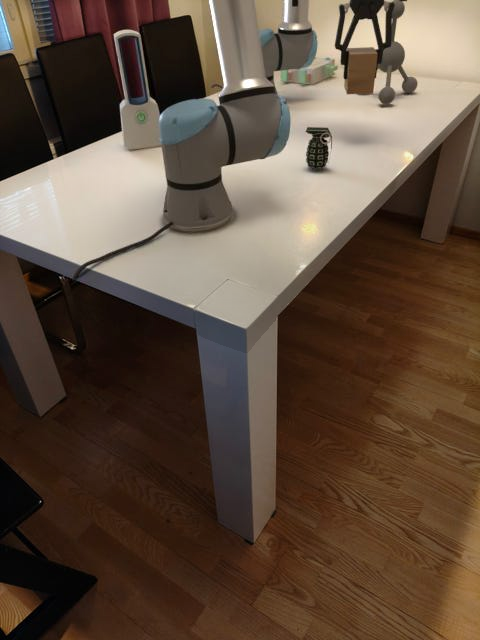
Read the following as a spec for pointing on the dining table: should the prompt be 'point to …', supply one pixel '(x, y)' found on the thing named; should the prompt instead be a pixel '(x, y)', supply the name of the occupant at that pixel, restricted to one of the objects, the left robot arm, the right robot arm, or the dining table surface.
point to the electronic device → (137, 102)
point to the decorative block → (311, 72)
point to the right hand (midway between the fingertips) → (359, 77)
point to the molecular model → (395, 61)
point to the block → (361, 70)
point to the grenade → (318, 147)
